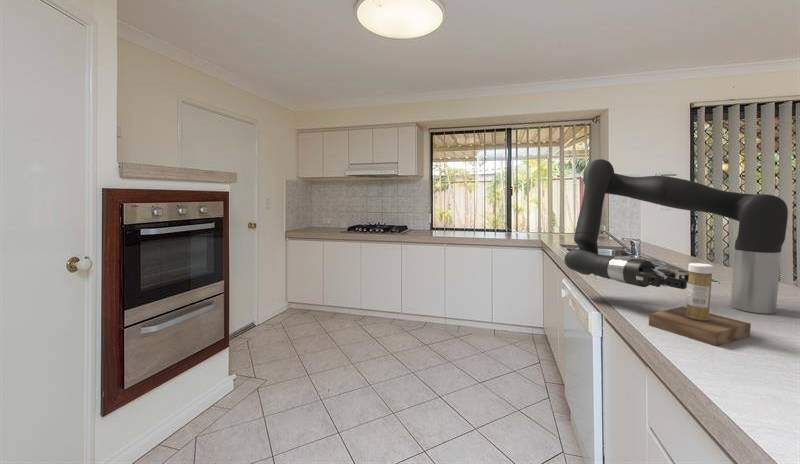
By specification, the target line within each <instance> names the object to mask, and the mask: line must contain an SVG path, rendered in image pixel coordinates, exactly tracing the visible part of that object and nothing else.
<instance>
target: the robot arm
mask: <svg viewBox="0 0 800 464" xmlns="http://www.w3.org/2000/svg"><path fill="white" fill-rule="evenodd" d="M582 176H583V179H582V180H583V181H582V182H583V184H584V186H583V196H582V202H581V206H580V210H579V215H578V217H577V218H578V219H577V222H576V226H575V232H574V236H573V241H574V243H575V244H576V246H578V249H577V248H576V249H571V250H569V251H568V252H567V253H566V254H565V256H564V259H563V261H564V264H565V266H566V267H567V268H568V269H570V270H572V271H574V272H577V273H579V274H581V275H585V276H589V275H595V276H597V277H600V278H604V279H608V280H612V281H615V282H619V283H622V284H628V285H631V286H636V287H641V288H647V287H649V286H651V287H656V288H661V287H664V288H666V287H670V288H675V289H680V290H687V289H688V280H689V271H688V270H687V271H686V270H679V269H673V268H669V267H668V268H664V267H663V268H662V267H658V268H656V267H655V265H654V264H653V262H651V261H650V260H646V259H641V258H640V259H639V258H632V257H628V256H627V257H626V256H613V255H606V254H605V255H604V254H599V246H598V239H599V234H600V229H601V223H602V214H603V206H604V201H605V196H606V194H608V195H615V196H620V197H627V198H630V199H634V200H637V201H641V202H642V201H643V202H647V203H651V204H655V205H659V206H663V207H668V208H672V209H678V210H684V211H690V212H700V213H708V214H712V215H717V216H721V217H724V218H726V219H731V220H733V221H737V222H739V223H738V232H737V233H738V234H737V238H736V239H735V241H734V253H733V254H734V255H733V267H732V283H731V292H730V293H731V296H730V307H732V308H733V309H737V310H739V311H745V312H748V313H753V314H754V313H755V314H766V315H772V314H776V313H777V305H778V304H777V303H778V297H779V296H778V295H779V294H778V293H779V284H780V283H779V281H780V271H781V270H780V269H781V257H782V248H783V244H784V243H785V239H786V234H787V228H788V217H789V210H788V209H789V208H788V205H787V204H786V202H785V201H784V200H783V198H781V197H778V196H776V195H774V194H765V193H762V194H761V193H760V194H755V193H754V194H753V193H752V194H751V193H742V192H735V191H733V192H732V191H726V190H722V189H718V188H714V187H711V186H709V185H705V184H702V183H699V182H695V181H692V180H687V179H684V178H678V177H673V176H666V175H647V176H628V175H623V174H619V173H616V172H615V168H614V167H613V164H612V163H611V162H610V161H608V160H606V159H604V158H603V159H602V158H598V159H594V160H592V161H590V162H589V163H587V165H586V166H585V167H584V170H583V175H582ZM682 276H684V277H682Z"/></svg>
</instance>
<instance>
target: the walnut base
mask: <svg viewBox="0 0 800 464" xmlns="http://www.w3.org/2000/svg"><path fill="white" fill-rule="evenodd" d="M686 308H687V307H685V306H681V307H679V306H678V307H675V308H670V309H665V310H662V311H661V310H660V311H656V312H653V313H652V312H651V313H648V326H650V327H654V328H657V329H660V330H663V331H666V332H670V333H672V334H676V335H679V336H683V337H686V338H688V339H692V340H695V341H698V342H702V343H705V344H707V345H711V346H714V347H717V346H720V345H723V344H727V343H730V342H731V343H732V342H733V341H737V340H740V339H741V340H742V339H744V338H747V337H750V336H751V328H752V327H751V326H752V323H751V322H746V321H742V320H738V319H735V318H730V317H725V316H723V315H717V314H713V313H710V312H709V318H710V319H709V320H706V321H701V320H694V319H691V318H688V317H687V316H686V315H685V314H686Z"/></svg>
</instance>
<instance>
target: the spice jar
mask: <svg viewBox="0 0 800 464" xmlns="http://www.w3.org/2000/svg"><path fill="white" fill-rule="evenodd" d="M688 271H689V280H688V283H687V289H686V290H687V291H686V292H687V293H686V307H685V308H686V314H685V315H686V316H687V317H688V318H691V319H694V320H701V321H706V320H709V319H710V318H709V313H710V307H711V303H712V302H711V301H712V294H711V293H712V278H713V277H712V276H713V274H714V265H712V264H708V263H703V262H702V263H701V262H698V263H696V262H691V263H688V266H687V272H688Z"/></svg>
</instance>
